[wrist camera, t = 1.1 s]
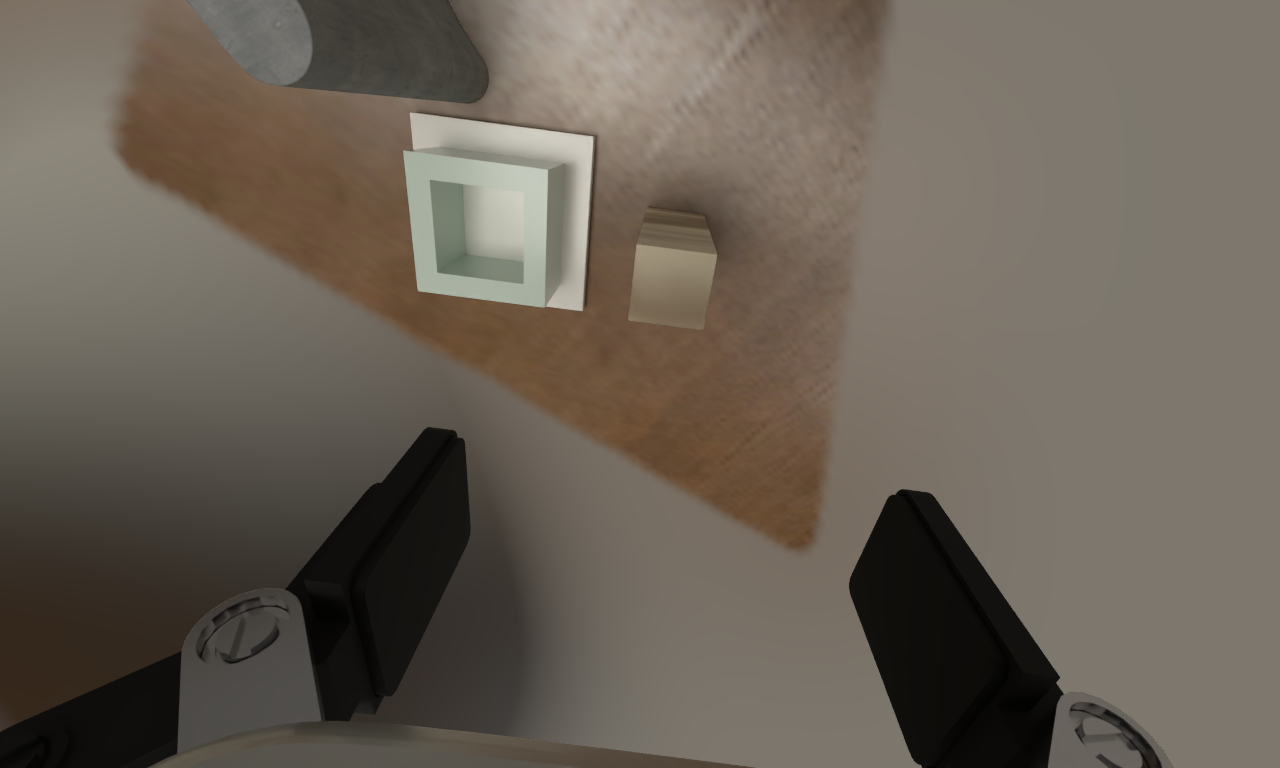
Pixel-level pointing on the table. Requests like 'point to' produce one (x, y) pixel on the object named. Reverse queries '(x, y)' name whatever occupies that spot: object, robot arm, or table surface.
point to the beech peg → (673, 269)
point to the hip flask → (351, 46)
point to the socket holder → (500, 210)
